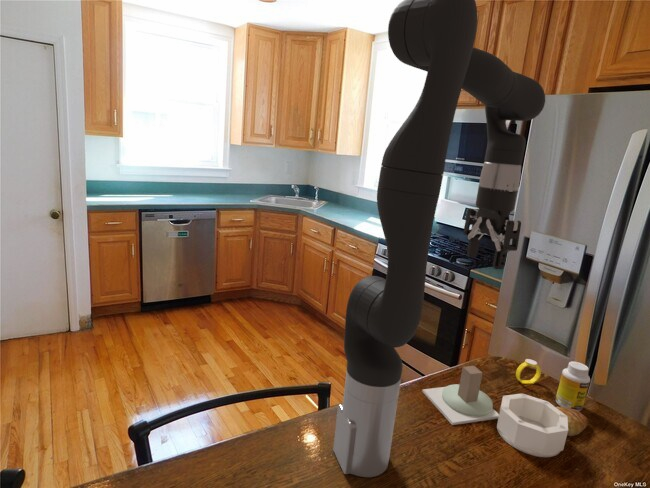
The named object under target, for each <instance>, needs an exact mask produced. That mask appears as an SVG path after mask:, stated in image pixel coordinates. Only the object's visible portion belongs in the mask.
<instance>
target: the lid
mask: <svg viewBox="0 0 650 488" xmlns="http://www.w3.org/2000/svg"><path fill="white" fill-rule="evenodd" d="M483 373H484V372H482V371H481V370H480V369H479V368H477V366H475V365H467V366H462V370H461V375H460V380H459V383H458V384H456V383H454V384H449V385H446V386H444V387H445V388H444V389H443V392H442V398H443V400H444V402H445V403H446V404H447V405H448V406H449V407H450V408H452V409H453V410H455V411H457V412H460V413H462V414H465V415H469V416H485V415H488V414H489V413H490V412H491V411H492V408H493V407H494V403H493V400H492V399H491V398H490V397H489V396H488V395H487V394H486V393H485V392H484V391H482V390H480V388H481V383H482V378H483Z"/></svg>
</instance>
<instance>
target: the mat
mask: <svg viewBox="0 0 650 488" xmlns="http://www.w3.org/2000/svg"><path fill="white" fill-rule="evenodd" d="M445 387H446V386H443V387H442V386H441V387H432V388H425V389H422V393H423V394H424V395H425V396H426V398H427V399H428V400H429V401H430V402H431V404H433V406H434V407H435V408H436V409H437V410H438V411H439V412H440V413H441V414H442V415H443V416H444V417H445V419H446V420H447V422H449V423H450V424H451V426H455V425H463V424H470V423H477V422H483V421H491V420H498V418H499V413H498V412H497V411H496V410H495V409H494V408H493V407H492V411H491V412H490V413H489V414H488V415H485V416H469V415H465V414H462V413H460V412H457V411H455V410H453V409H452V408H450V407H449V406H448V405H447V404H446V403H445V402H444V400H443V398H442V392H443V389H444V388H445Z"/></svg>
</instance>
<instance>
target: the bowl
mask: <svg viewBox="0 0 650 488" xmlns="http://www.w3.org/2000/svg"><path fill="white" fill-rule="evenodd" d="M556 407H557V406H555V405H553V404H552V403H551V402H549V401H547V400H545V399H544V400H543V399H541V398H538V397H534V396H532V395H528V394H525V393H515V394H508V395H507V394H506V395H502V399H501V404H500V407H499V413H498V414H499V418H498V419H497V424H496V429H497V432H498V435H500V437H501V438H502V439H503V440H504V441H505V442H506V443H507V444H509V445H510V446H511V447H513V448H515V449H516V450H518V451H519V452H522V453H525V454H527V455H531V456H533V457H538V458H551V457H552V458H553V457H556V456H557V455H559V454H560V453H561V452H563V451H564V448H565V444H566V442H567V440H566V439H567V437H568V436H567V433H568V418H567V416H566V415H565V414H564V413H562V412H561V411H560V410H558V409H557V408H556Z"/></svg>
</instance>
